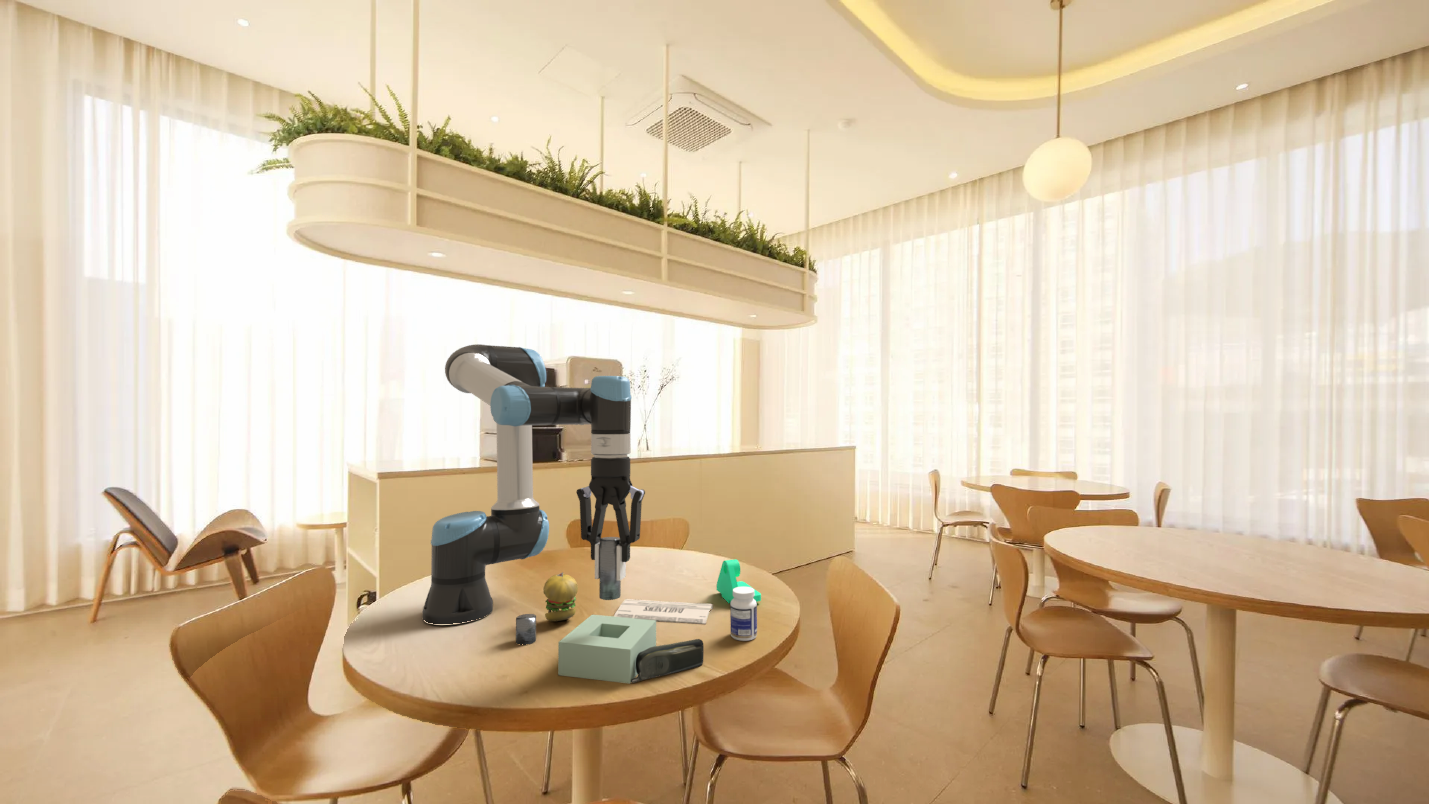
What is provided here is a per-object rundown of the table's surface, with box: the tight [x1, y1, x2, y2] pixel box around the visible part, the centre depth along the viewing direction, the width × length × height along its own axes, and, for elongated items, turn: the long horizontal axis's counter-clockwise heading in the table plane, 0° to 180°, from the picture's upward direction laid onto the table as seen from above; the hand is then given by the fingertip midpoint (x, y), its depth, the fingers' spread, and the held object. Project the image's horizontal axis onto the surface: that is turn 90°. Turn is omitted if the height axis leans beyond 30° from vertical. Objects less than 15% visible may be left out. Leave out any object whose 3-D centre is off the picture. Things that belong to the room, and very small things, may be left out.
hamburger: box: [543, 572, 579, 622], centre depth 126 cm, size 8×7×12 cm
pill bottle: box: [729, 586, 758, 642], centre depth 119 cm, size 6×6×10 cm
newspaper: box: [613, 598, 714, 625], centre depth 133 cm, size 23×12×2 cm, turn 82°
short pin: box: [515, 613, 537, 646], centre depth 116 cm, size 4×4×5 cm
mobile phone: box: [631, 638, 705, 684], centre depth 102 cm, size 5×3×15 cm
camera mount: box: [716, 559, 762, 604], centre depth 142 cm, size 12×8×10 cm, turn 21°
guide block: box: [557, 614, 657, 685], centre depth 106 cm, size 14×14×6 cm
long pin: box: [598, 536, 622, 601], centre depth 106 cm, size 4×4×11 cm
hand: (610, 577), depth 106 cm, fingers closed on long pin, 4 cm apart
